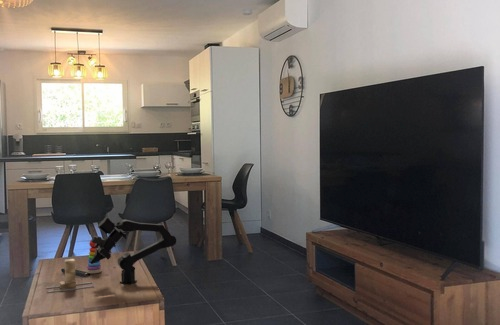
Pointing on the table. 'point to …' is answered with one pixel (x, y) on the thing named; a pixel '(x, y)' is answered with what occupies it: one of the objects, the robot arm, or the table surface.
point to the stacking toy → (95, 266)
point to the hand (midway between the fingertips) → (90, 263)
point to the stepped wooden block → (69, 275)
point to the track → (69, 289)
